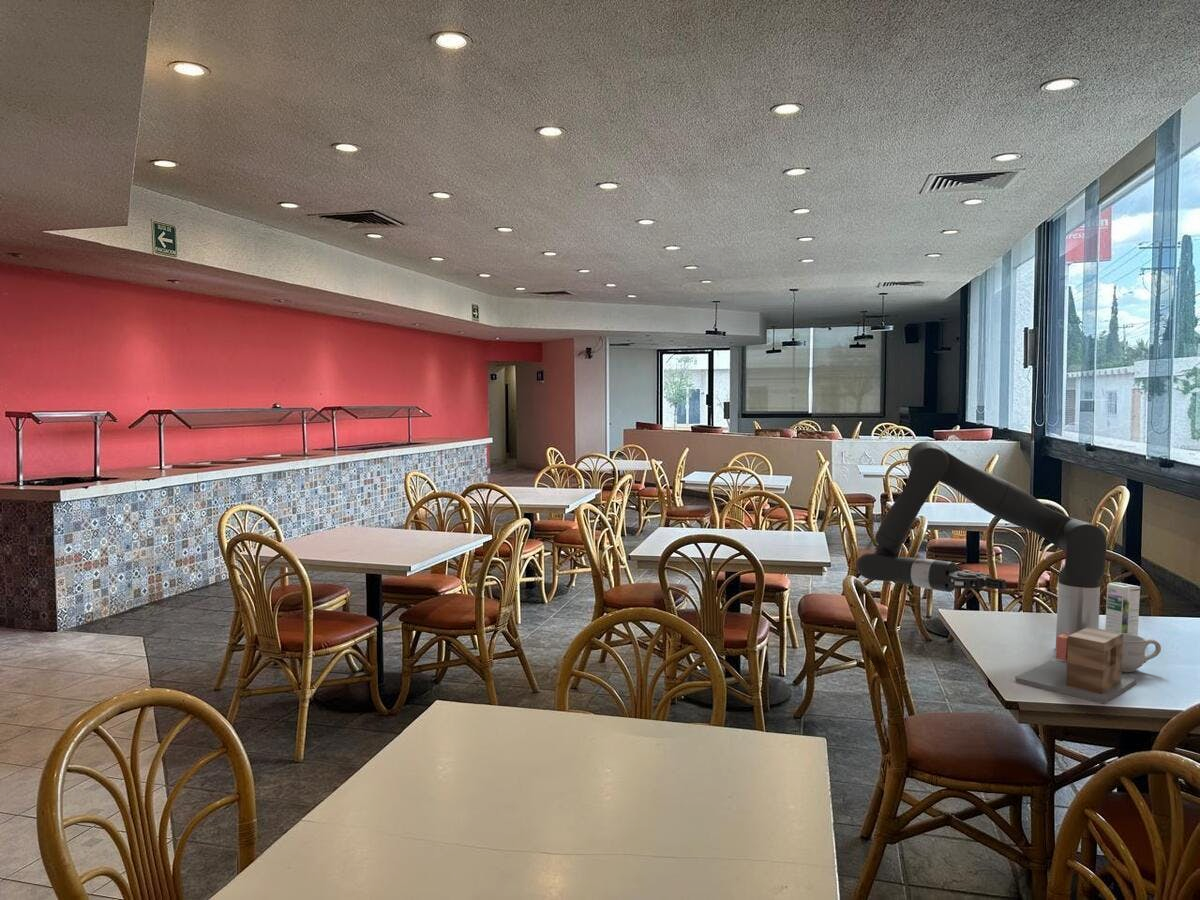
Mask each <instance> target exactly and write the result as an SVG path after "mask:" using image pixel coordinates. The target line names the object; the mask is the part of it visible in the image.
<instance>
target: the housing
mask: <svg viewBox="0 0 1200 900" xmlns="http://www.w3.org/2000/svg"><path fill="white" fill-rule="evenodd" d="M1122 649H1123V633H1118V632H1113V631H1108V630H1105V629H1102V628H1098V629H1097V628H1092V627H1087V628H1084V629H1082V630H1080V631H1078V632H1076V633H1074V634H1071V635H1069V636H1068V655H1067V660H1066V664H1067V679H1066V686H1070V687H1074V688H1078V689H1082V690H1087V691H1091V692H1095V693H1099V694H1103V693H1105V692H1106V691H1108V690H1110V689H1111V688H1113V687H1114V686H1116V685H1118V684H1119V683H1121V676H1122Z"/></svg>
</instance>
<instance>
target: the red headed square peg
mask: <svg viewBox="0 0 1200 900" xmlns="http://www.w3.org/2000/svg"><path fill="white" fill-rule="evenodd" d="M1069 635H1071V634H1070V633H1063V634H1061V635H1059V636H1057V643H1056V642H1055V649H1056V650H1055V659H1057V660H1062V661H1066V662H1067V655H1068V636H1069Z"/></svg>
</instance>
